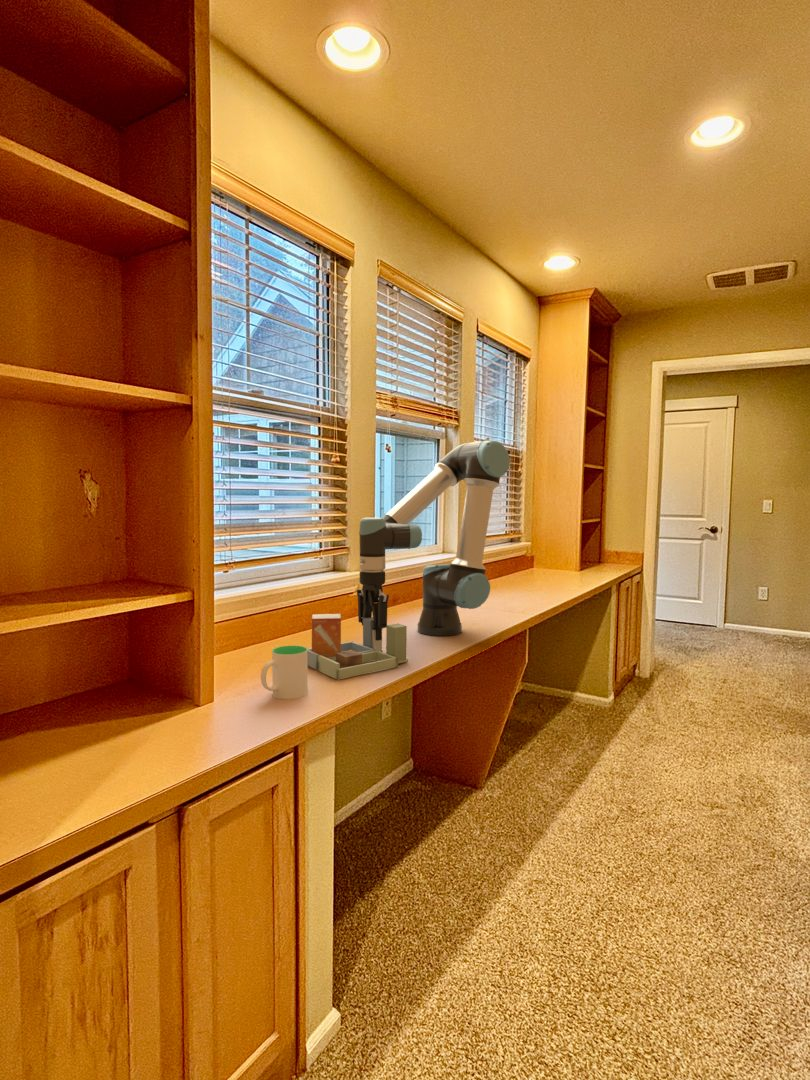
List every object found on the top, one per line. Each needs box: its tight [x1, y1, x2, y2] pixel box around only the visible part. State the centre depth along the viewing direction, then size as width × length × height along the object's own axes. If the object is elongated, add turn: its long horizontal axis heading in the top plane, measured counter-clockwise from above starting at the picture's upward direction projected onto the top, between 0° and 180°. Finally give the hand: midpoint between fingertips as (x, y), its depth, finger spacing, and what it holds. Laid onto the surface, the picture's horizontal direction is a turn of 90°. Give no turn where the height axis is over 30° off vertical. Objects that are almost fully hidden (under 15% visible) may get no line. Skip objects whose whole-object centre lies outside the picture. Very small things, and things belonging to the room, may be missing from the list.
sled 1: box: [294, 616, 384, 671], centre depth 170 cm, size 24×13×10 cm, turn 127°
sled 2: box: [317, 623, 409, 680], centre depth 160 cm, size 24×10×10 cm, turn 127°
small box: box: [311, 613, 342, 658], centre depth 167 cm, size 8×6×13 cm
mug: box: [260, 645, 309, 700], centre depth 138 cm, size 12×8×10 cm, turn 144°
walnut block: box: [336, 650, 363, 668], centre depth 157 cm, size 5×5×5 cm
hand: (372, 648), depth 176 cm, fingers closed on sled 1, 4 cm apart
